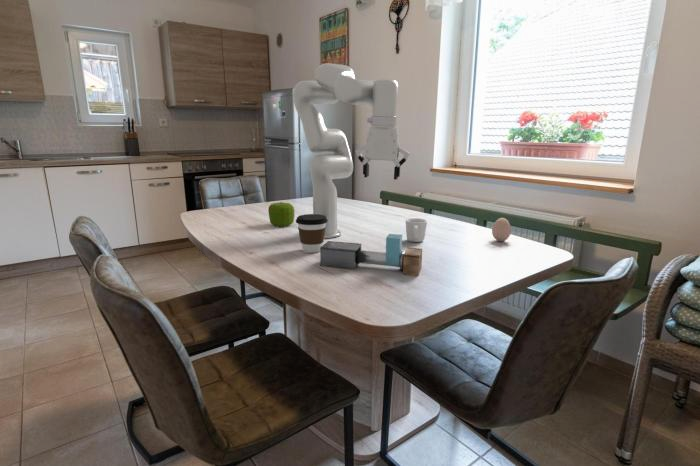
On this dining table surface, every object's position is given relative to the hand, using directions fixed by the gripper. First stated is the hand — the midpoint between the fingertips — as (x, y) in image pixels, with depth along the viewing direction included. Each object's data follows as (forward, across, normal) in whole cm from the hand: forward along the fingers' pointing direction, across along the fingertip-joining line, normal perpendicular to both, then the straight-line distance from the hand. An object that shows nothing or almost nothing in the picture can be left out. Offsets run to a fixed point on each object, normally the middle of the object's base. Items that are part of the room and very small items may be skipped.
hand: (381, 178), depth 128 cm
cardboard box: (+25, +14, -13) cm, 31 cm away
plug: (+25, +5, -13) cm, 29 cm away
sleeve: (+26, -8, -13) cm, 30 cm away
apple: (+29, -50, +29) cm, 65 cm away
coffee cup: (+27, -23, -2) cm, 35 cm away
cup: (+26, +10, +20) cm, 35 cm away
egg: (+26, +41, +31) cm, 57 cm away
